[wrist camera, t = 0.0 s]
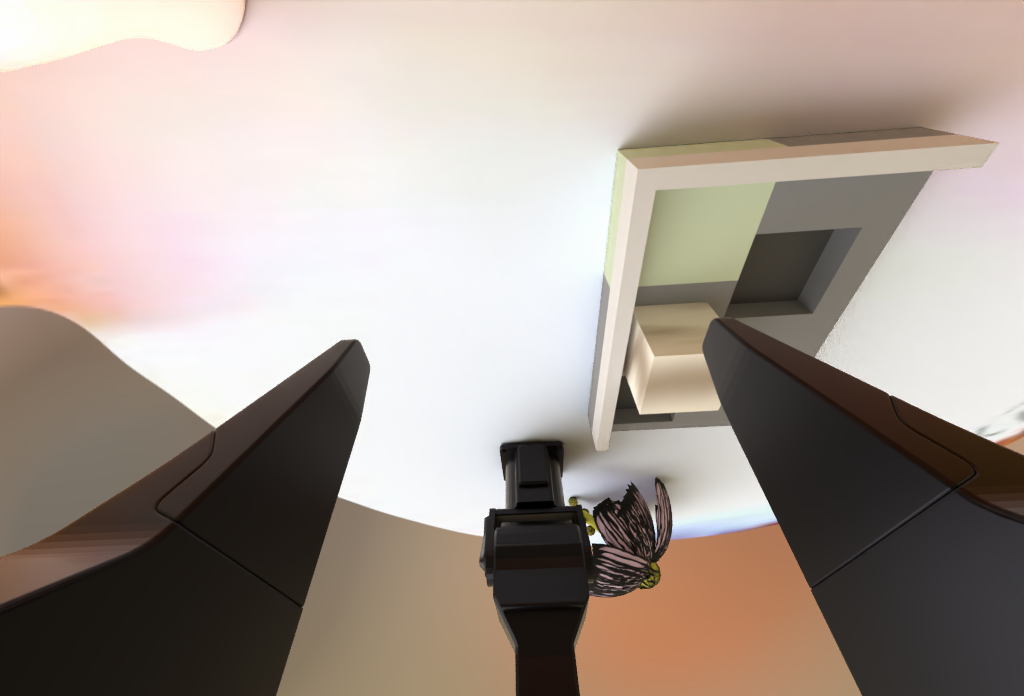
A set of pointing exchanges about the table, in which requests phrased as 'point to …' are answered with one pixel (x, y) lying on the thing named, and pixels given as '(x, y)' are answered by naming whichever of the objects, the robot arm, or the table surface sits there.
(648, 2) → the table surface
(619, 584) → the decorative flower
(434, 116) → the table surface
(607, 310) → the trap deck
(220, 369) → the table surface
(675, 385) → the ivory block
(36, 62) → the beer glass
